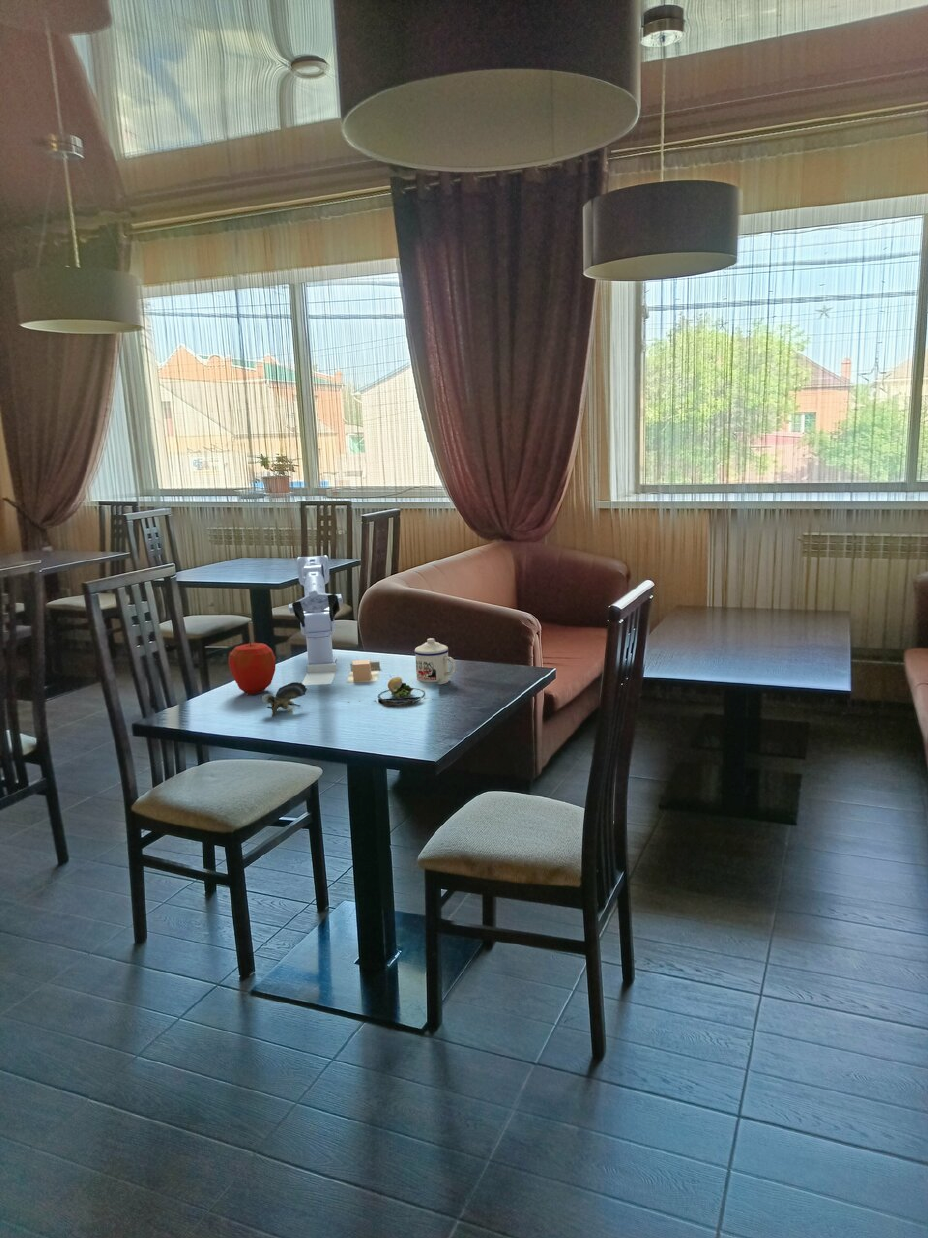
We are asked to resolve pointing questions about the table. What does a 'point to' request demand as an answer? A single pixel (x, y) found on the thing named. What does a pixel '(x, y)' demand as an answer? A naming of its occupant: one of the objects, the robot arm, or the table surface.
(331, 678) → the grey strip
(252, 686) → the apple
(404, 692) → the burger
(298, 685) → the grey-brown animal figure
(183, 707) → the table surface
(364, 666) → the block
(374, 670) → the beige lipped tray
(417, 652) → the teacup with lid
